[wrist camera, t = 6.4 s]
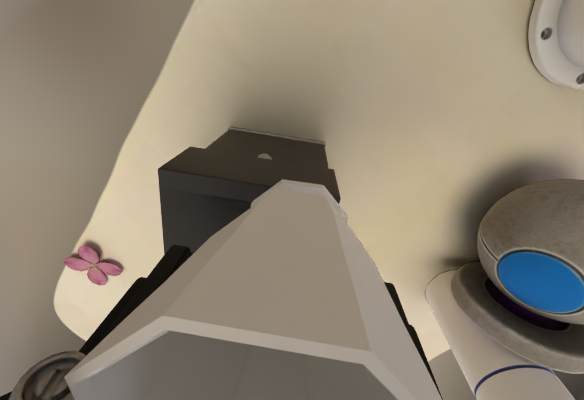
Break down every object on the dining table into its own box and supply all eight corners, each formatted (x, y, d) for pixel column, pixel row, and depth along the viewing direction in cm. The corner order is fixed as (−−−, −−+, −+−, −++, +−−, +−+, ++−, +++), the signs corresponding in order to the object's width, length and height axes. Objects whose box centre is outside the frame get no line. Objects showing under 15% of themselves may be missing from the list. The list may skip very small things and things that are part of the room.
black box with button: (230, 118, 29) (149, 171, 14) (327, 133, 29) (344, 202, 14) (227, 191, 32) (160, 292, 18) (312, 204, 32) (314, 316, 18)
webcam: (603, 330, 29) (720, 205, 22) (590, 407, 21) (763, 249, 15) (473, 260, 37) (530, 155, 31) (429, 296, 30) (493, 166, 23)
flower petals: (129, 285, 41) (126, 290, 40) (75, 277, 41) (70, 282, 40) (118, 246, 36) (114, 251, 36) (57, 237, 36) (52, 242, 35)
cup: (416, 201, 11) (589, 461, 4) (296, 337, 15) (269, 579, 8) (260, 111, 10) (93, 224, 3) (180, 283, 14) (34, 498, 7)
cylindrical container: (473, 262, 35) (772, 621, 12) (487, 299, 37) (754, 653, 15) (418, 281, 37) (588, 622, 14) (434, 315, 39) (600, 651, 17)
